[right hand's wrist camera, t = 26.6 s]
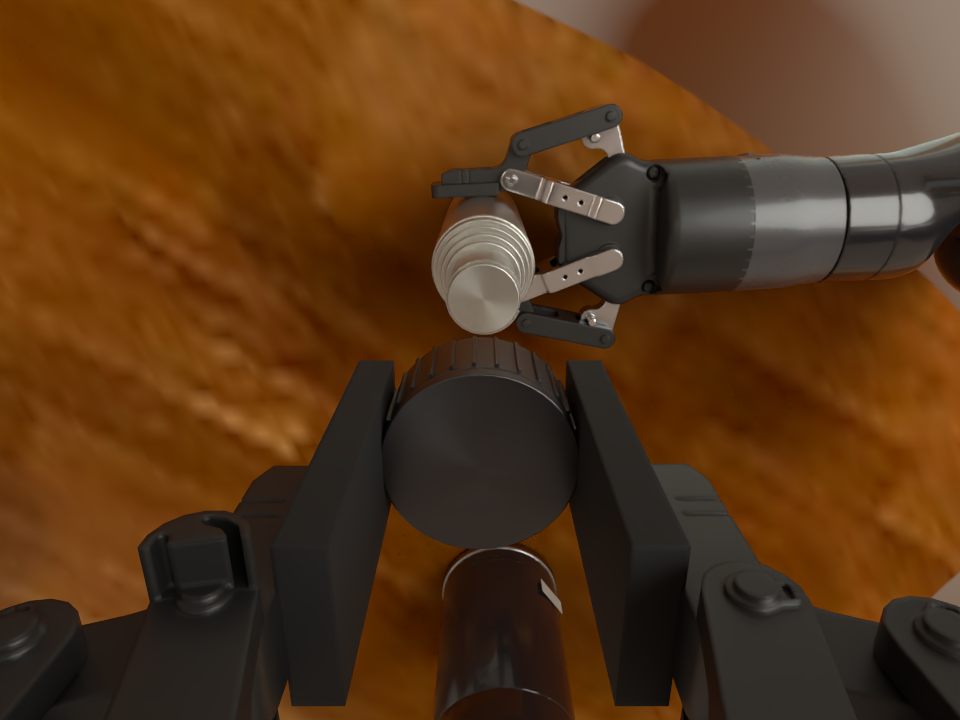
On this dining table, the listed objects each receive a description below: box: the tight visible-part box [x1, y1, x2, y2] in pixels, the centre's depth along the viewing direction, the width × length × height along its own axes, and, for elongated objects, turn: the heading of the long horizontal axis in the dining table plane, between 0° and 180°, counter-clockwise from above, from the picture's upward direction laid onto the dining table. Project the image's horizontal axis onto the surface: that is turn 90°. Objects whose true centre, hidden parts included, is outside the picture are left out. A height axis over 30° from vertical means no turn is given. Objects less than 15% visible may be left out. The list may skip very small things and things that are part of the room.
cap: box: [382, 336, 579, 549], centre depth 14 cm, size 4×4×2 cm
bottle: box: [431, 191, 535, 335], centre depth 34 cm, size 5×5×20 cm
